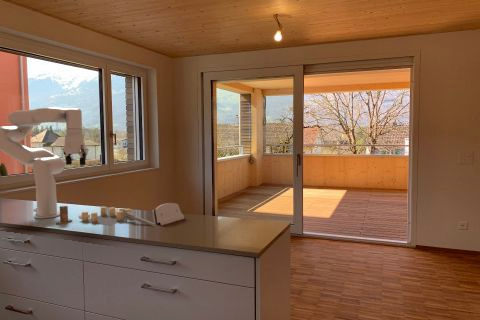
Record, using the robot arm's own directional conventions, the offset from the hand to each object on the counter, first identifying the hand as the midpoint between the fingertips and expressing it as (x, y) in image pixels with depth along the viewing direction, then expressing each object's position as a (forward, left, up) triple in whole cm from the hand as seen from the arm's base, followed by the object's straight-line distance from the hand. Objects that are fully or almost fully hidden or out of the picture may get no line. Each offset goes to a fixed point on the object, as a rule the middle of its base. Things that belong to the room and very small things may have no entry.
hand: (75, 164), depth 189 cm
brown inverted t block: (+5, -13, -28) cm, 32 cm away
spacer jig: (+20, -1, -28) cm, 35 cm away
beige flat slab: (+50, +10, -29) cm, 58 cm away
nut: (+5, 0, -28) cm, 29 cm away
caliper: (+39, 0, -29) cm, 49 cm away
